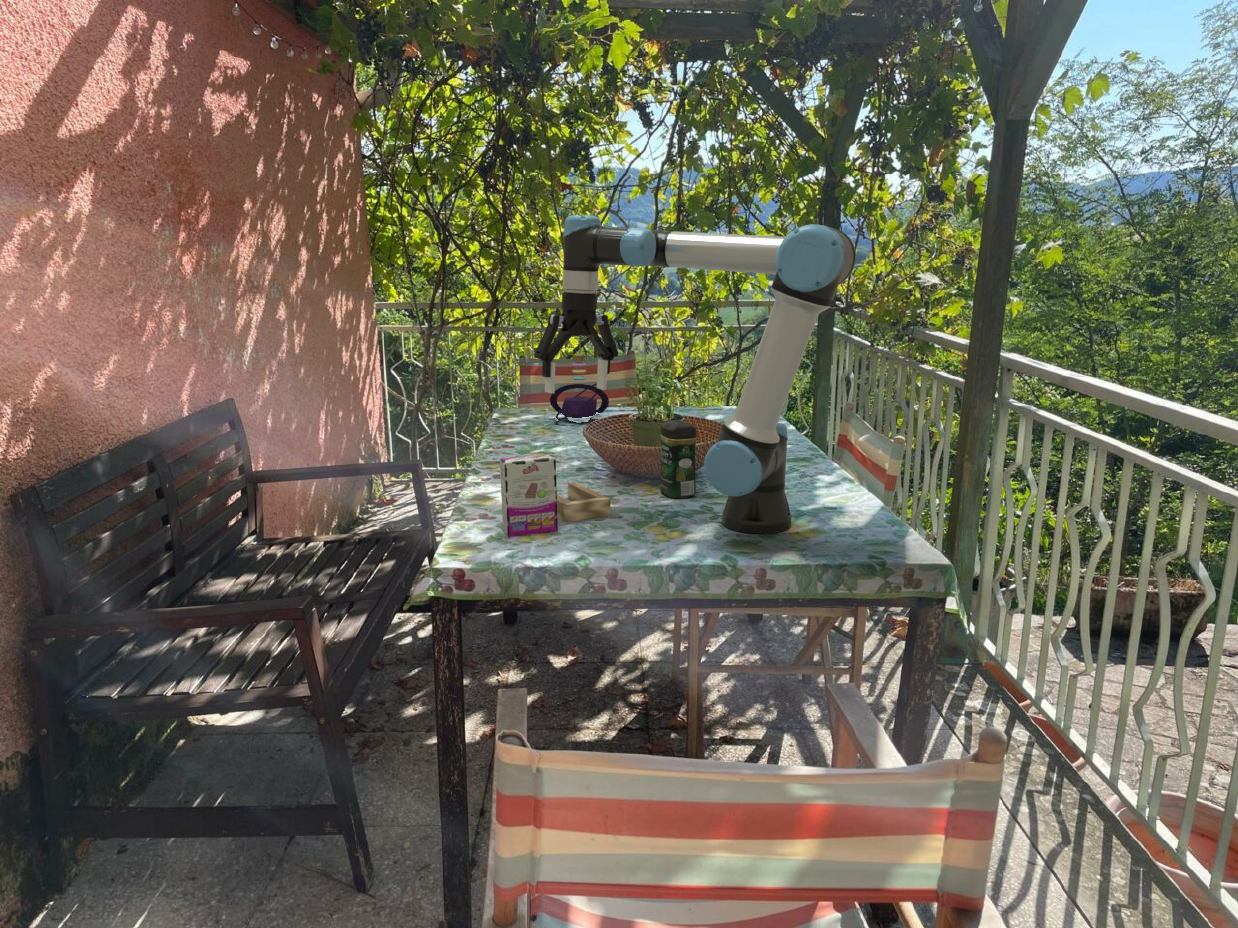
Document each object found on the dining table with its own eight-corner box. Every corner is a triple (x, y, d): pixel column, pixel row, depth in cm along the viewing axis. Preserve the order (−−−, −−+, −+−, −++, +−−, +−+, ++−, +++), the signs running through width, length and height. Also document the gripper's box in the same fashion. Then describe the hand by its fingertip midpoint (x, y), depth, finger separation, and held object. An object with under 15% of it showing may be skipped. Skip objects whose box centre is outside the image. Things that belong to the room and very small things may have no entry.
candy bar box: (551, 526, 185) (550, 453, 181) (558, 532, 180) (557, 457, 177) (501, 532, 181) (499, 457, 177) (507, 538, 176) (505, 462, 173)
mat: (582, 497, 209) (582, 495, 208) (623, 517, 192) (623, 515, 192) (522, 505, 201) (522, 504, 201) (559, 527, 184) (559, 525, 184)
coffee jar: (655, 490, 215) (656, 418, 211) (684, 488, 217) (685, 417, 213) (670, 500, 206) (671, 425, 202) (699, 497, 208) (701, 423, 204)
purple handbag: (612, 417, 322) (612, 351, 316) (606, 427, 301) (606, 357, 296) (554, 416, 324) (553, 351, 318) (544, 426, 303) (542, 356, 298)
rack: (575, 497, 206) (575, 482, 206) (610, 515, 192) (610, 498, 191) (534, 503, 201) (533, 487, 200) (566, 522, 186) (566, 505, 185)
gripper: (616, 291, 189) (612, 385, 195) (519, 289, 175) (517, 391, 180) (637, 293, 183) (631, 390, 189) (538, 292, 169) (535, 396, 174)
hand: (576, 390), depth 184 cm, fingers open, 13 cm apart
